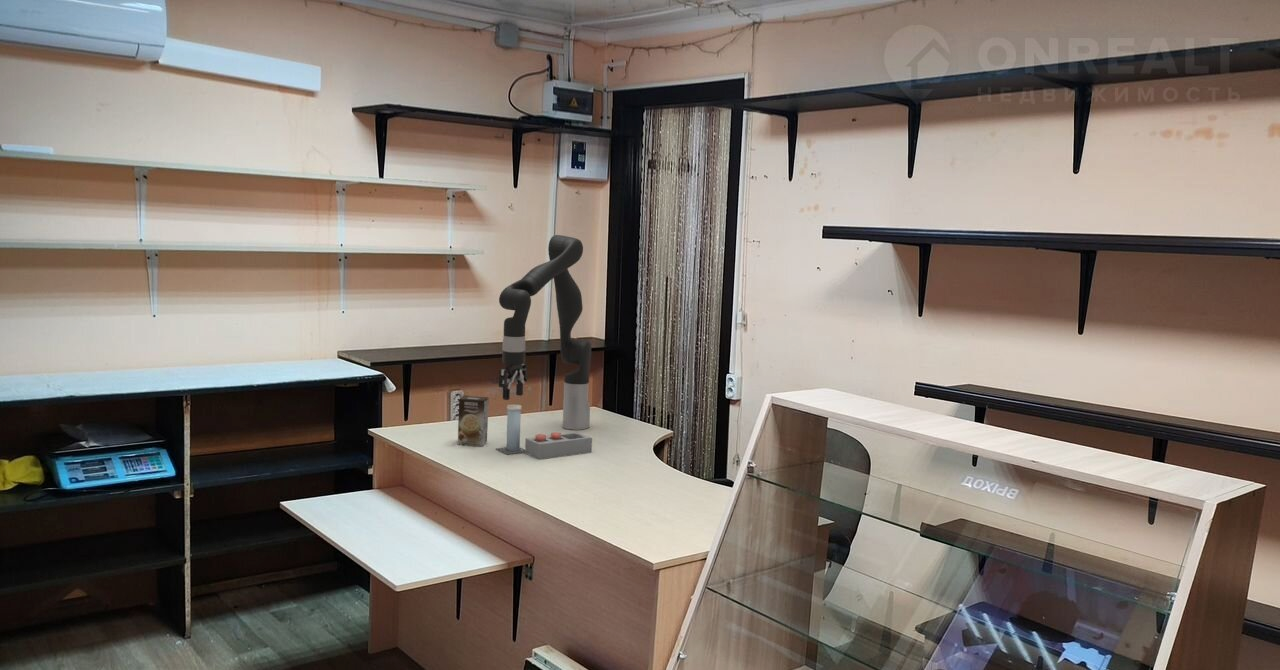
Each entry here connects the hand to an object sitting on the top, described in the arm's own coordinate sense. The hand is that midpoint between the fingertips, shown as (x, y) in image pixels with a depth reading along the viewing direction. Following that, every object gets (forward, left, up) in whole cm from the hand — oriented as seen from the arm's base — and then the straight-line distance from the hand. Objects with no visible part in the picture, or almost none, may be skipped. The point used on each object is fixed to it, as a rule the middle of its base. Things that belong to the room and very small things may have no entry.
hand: (512, 397), depth 308 cm
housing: (-13, +9, -18) cm, 24 cm away
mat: (0, 0, -18) cm, 18 cm away
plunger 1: (-6, +9, -17) cm, 20 cm away
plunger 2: (-12, +9, -17) cm, 23 cm away
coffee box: (+7, -15, -18) cm, 25 cm away
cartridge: (0, 0, -18) cm, 18 cm away
